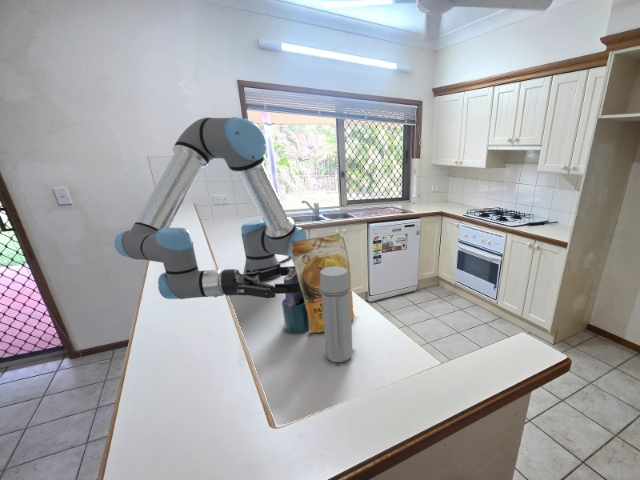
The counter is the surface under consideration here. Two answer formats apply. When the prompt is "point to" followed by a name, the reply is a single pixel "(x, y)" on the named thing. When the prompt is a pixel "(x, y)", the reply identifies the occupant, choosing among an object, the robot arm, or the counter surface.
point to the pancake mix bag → (318, 272)
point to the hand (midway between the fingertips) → (301, 278)
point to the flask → (292, 297)
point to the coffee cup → (296, 317)
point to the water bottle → (336, 313)
